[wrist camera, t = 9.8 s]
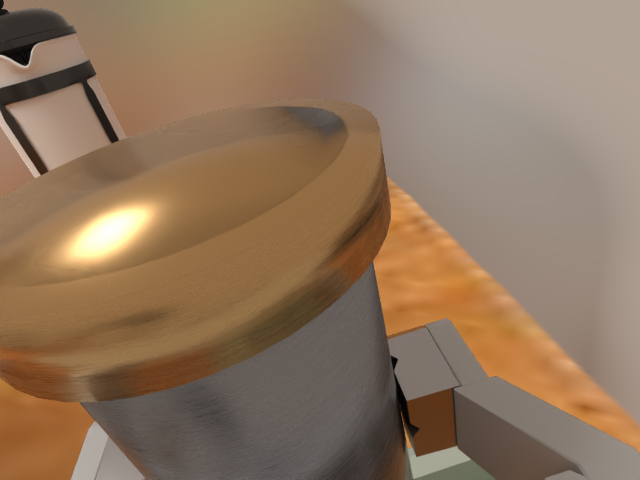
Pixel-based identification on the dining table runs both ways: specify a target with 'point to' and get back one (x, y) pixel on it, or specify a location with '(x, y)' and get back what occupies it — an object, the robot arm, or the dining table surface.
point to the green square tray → (446, 466)
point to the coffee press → (50, 91)
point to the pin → (214, 295)
